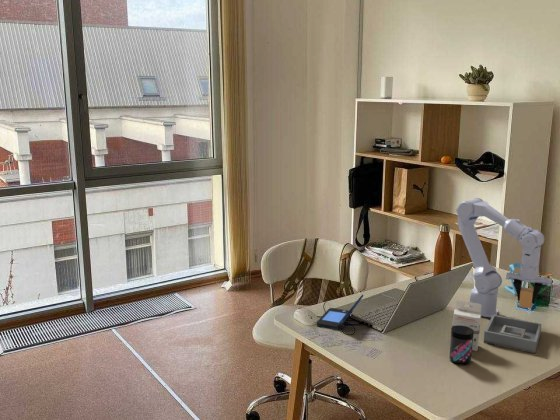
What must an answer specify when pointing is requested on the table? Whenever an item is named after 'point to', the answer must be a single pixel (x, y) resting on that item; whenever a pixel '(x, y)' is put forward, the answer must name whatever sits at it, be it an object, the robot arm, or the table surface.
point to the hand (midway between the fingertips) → (526, 301)
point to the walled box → (523, 344)
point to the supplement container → (461, 344)
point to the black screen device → (336, 317)
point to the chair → (512, 280)
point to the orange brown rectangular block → (526, 297)
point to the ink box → (468, 319)
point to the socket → (513, 331)
